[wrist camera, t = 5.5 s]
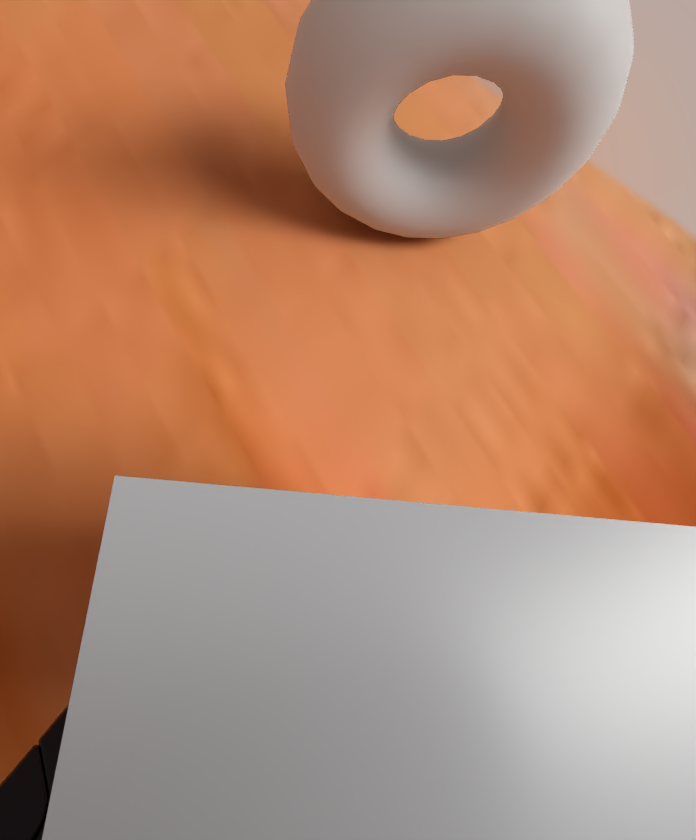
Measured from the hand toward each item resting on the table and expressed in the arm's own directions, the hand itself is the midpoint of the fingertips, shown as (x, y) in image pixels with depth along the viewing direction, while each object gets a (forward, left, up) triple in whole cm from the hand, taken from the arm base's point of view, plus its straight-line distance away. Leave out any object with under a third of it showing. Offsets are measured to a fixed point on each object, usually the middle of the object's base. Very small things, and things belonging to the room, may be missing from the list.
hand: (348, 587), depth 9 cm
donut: (+10, +10, -7) cm, 16 cm away
